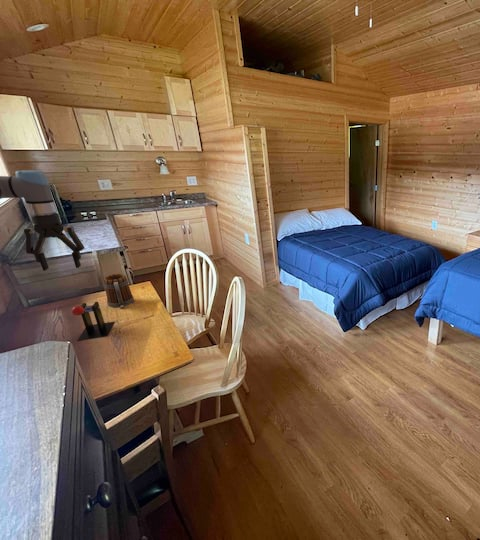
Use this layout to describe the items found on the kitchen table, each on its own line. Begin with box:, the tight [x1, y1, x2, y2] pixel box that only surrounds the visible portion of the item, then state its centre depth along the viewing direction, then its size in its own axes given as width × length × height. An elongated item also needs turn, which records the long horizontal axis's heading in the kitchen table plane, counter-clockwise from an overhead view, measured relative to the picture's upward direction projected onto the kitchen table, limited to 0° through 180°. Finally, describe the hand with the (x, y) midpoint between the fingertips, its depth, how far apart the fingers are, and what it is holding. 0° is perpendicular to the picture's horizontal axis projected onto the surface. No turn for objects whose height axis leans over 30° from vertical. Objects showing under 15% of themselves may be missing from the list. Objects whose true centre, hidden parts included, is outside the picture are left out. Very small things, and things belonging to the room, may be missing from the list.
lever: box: [71, 304, 93, 316], centre depth 118 cm, size 14×4×4 cm, turn 26°
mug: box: [103, 273, 135, 310], centre depth 146 cm, size 16×11×15 cm
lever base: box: [76, 301, 116, 342], centre depth 125 cm, size 12×10×14 cm
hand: (62, 267), depth 122 cm, fingers open, 9 cm apart
